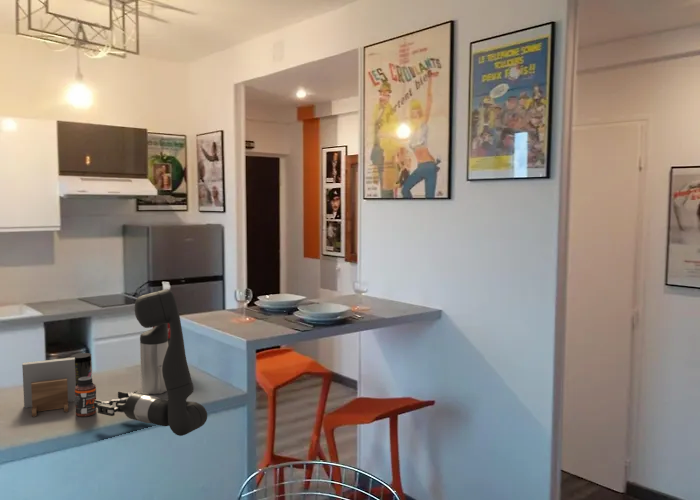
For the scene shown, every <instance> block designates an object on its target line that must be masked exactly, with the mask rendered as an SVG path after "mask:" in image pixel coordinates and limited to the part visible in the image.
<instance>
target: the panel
mask: <svg viewBox="0 0 700 500" xmlns="http://www.w3.org/2000/svg"><path fill="white" fill-rule="evenodd" d="M21 366H22V386H23V406H24V407H23V408H24V409H26V408H32V389H31V382H38V381H46V380H54V379H63V378H67V389H68V403H71V402H75V387H76V379H75V357H74V358H71V357H65V358H56V359H55V358H54V359H47V360H38V361H29V362H27V361H26V362H22V365H21Z"/></svg>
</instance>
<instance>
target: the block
mask: <svg viewBox="0 0 700 500" xmlns="http://www.w3.org/2000/svg"><path fill="white" fill-rule="evenodd" d="M31 389H32V407H31V417H37V415H38V412H43V411H52V410H58V409H59V410H60V409H63V412H64V413H67V412H69V402H68V389H67V378H63V379H54V380H46V381H38V382H31Z"/></svg>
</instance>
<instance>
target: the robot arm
mask: <svg viewBox="0 0 700 500" xmlns="http://www.w3.org/2000/svg"><path fill="white" fill-rule="evenodd" d="M134 315H135V318H136V320H137V321H138V323H139V324H140V325H141V326H142V327H143V328H144V329H145V328H146V329H148V330H146V331H144V332H142V333H141V334H140V335H139V346H140V348H139V349H140V354H139V355H140V380H141V382H140V384H141V385H140V386H141V388H140V390H141V391H139V390H134V391H133V392H132V391H128V392H127V391H122V390H119V391H118V392H117V398H115V399H114V398H113V399H111V400H108V401H105V400H101V399H97V398H96V400H94V407H96V409H97V413H98V414H101V415H105V416H110V417H114V416H115V415H116V414H115V413H124V414H125V416H126V417H127V419H131V420H134V421H135V420H136V421H137V422H143V423H146V424H152V425H153V424H154V425H157V426H161V427H169V428H170V430H171V431H172V433H174V434H175V435H176V436H179V437H181V436H185V435H189V434H190V433H191V432H194V431H195V430H197V429H200V428H201V427H202V426H204V425H205V423H206V422H207V419H208V412H207V409H206V408H205V407H204V406H203V405H202V404H200V403H199V402H196V401H187V399H188V398H189V397H190V396H191V395H192V394H193V393H194V389H195V388H194V384H193V383H194V382H193V380H192V377H191V376H192V375H191V373H190V368H189V365H188V361H187V356H186V349H185V341H184V335H183V333H184V332H183V328H182V323H181V317H180V311H179V307H178V303H177V300H176V297H175V295H174V293H173V291H172V290H170V289H167V288H166V289H162V290H158V291H154V292H150V293H146V294H143V295H140V296H138V297H136V299H135V301H134ZM168 323H169V324H170V340H169V345H168ZM153 327H154V328H153ZM164 393H166V394H167V399H165V398H164V399H163V398H160V397H157V396H155V395H156V394H159V395H161V394H164ZM114 403H115V406H114Z"/></svg>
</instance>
